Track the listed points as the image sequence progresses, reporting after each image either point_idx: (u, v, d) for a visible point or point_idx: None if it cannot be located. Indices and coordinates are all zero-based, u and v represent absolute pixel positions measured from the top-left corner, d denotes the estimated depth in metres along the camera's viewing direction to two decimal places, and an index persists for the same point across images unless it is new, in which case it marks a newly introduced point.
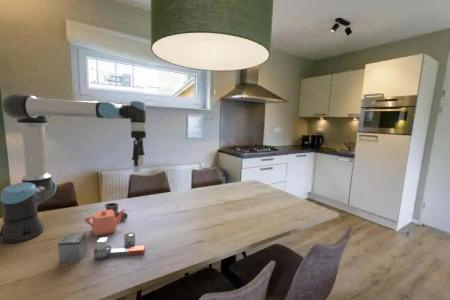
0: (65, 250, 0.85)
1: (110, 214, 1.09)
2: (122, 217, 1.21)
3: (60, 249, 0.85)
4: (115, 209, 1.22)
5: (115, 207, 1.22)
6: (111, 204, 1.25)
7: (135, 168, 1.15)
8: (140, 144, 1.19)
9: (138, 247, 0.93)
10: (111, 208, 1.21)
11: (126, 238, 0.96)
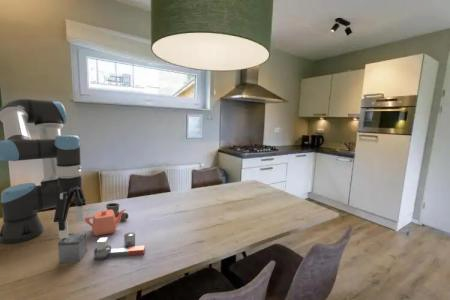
0: (65, 250, 0.85)
1: (110, 214, 1.09)
2: (123, 217, 1.21)
3: (60, 249, 0.85)
4: (116, 209, 1.22)
5: (116, 207, 1.22)
6: (112, 204, 1.25)
7: (61, 233, 0.80)
8: (71, 196, 0.83)
9: (138, 247, 0.93)
10: (112, 208, 1.20)
11: (126, 238, 0.96)
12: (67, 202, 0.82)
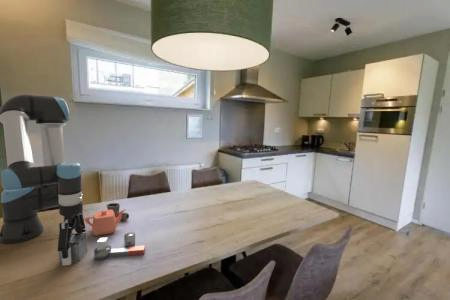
0: None
1: (110, 214, 1.09)
2: (123, 217, 1.21)
3: None
4: (117, 209, 1.22)
5: (117, 207, 1.22)
6: (113, 204, 1.25)
7: (65, 260, 0.83)
8: (73, 223, 0.85)
9: (138, 247, 0.93)
10: (113, 208, 1.20)
11: (126, 238, 0.96)
12: (69, 230, 0.84)
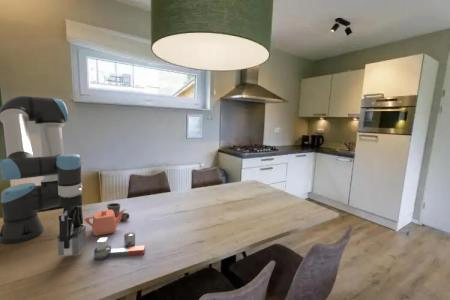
0: None
1: (110, 214, 1.09)
2: (124, 217, 1.20)
3: (59, 242, 0.85)
4: (117, 209, 1.22)
5: (117, 207, 1.21)
6: (113, 204, 1.25)
7: (66, 250, 0.85)
8: (72, 215, 0.85)
9: (138, 247, 0.93)
10: (113, 208, 1.20)
11: (126, 238, 0.96)
12: (69, 221, 0.84)
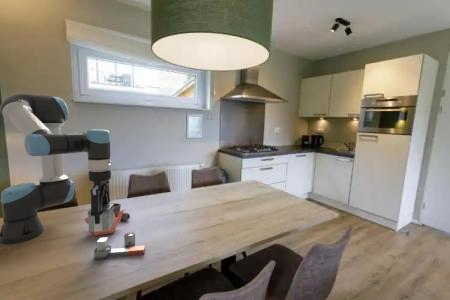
0: None
1: None
2: (124, 217, 1.20)
3: (90, 217, 0.84)
4: (117, 209, 1.22)
5: (117, 207, 1.21)
6: (114, 204, 1.25)
7: (96, 226, 0.84)
8: (102, 190, 0.85)
9: (138, 247, 0.93)
10: None
11: (126, 238, 0.96)
12: (99, 197, 0.84)
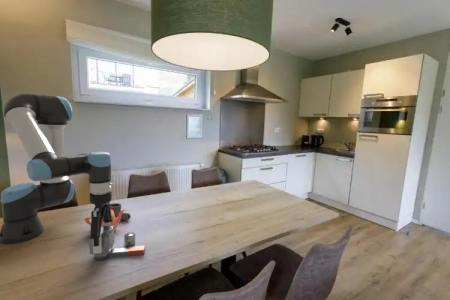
0: None
1: None
2: (125, 217, 1.20)
3: (90, 241, 0.85)
4: (118, 209, 1.22)
5: (118, 207, 1.21)
6: (114, 204, 1.25)
7: (95, 248, 0.84)
8: (103, 212, 0.86)
9: (138, 247, 0.93)
10: (114, 208, 1.20)
11: (126, 238, 0.96)
12: (100, 218, 0.85)
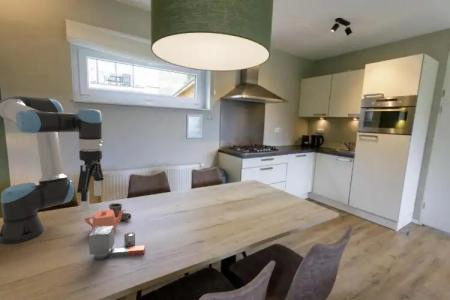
0: (95, 242, 0.86)
1: (110, 214, 1.09)
2: (126, 218, 1.20)
3: (90, 241, 0.85)
4: (119, 209, 1.22)
5: (119, 207, 1.21)
6: (115, 204, 1.25)
7: (83, 204, 0.82)
8: (92, 169, 0.85)
9: (138, 247, 0.93)
10: (115, 208, 1.20)
11: (126, 238, 0.96)
12: (89, 174, 0.84)
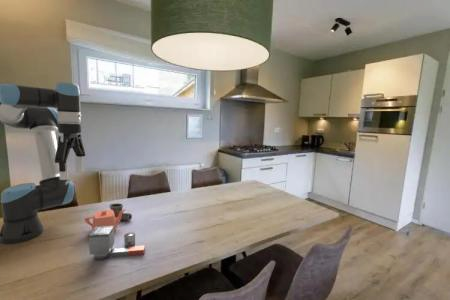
0: (95, 242, 0.86)
1: (110, 214, 1.09)
2: (126, 218, 1.20)
3: (90, 241, 0.85)
4: (119, 210, 1.21)
5: (119, 208, 1.21)
6: (116, 204, 1.25)
7: (62, 174, 0.84)
8: (71, 141, 0.87)
9: (138, 247, 0.93)
10: (115, 209, 1.20)
11: (126, 238, 0.96)
12: (67, 146, 0.86)
